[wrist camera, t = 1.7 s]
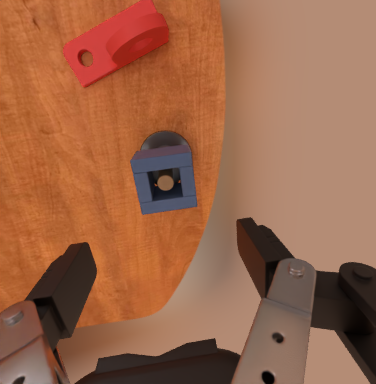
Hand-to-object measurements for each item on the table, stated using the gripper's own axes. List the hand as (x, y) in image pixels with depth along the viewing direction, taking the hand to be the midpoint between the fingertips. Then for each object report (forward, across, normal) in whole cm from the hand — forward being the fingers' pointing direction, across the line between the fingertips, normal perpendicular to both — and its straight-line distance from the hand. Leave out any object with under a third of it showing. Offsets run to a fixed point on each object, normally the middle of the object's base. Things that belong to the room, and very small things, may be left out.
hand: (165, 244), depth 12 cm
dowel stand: (+22, 0, 0) cm, 22 cm away
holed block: (+14, 0, 0) cm, 14 cm away
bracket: (+22, +4, -14) cm, 27 cm away
